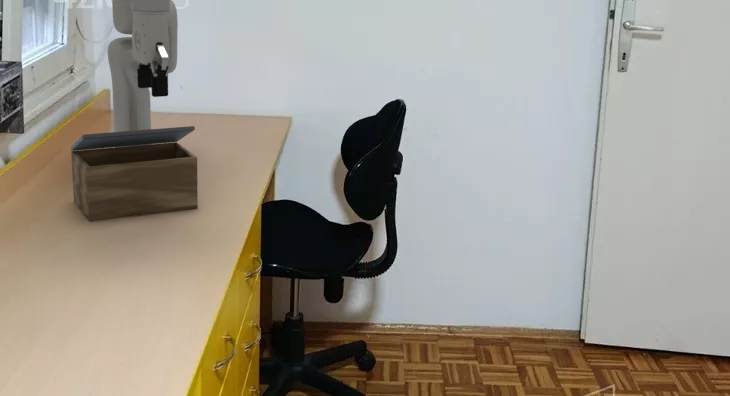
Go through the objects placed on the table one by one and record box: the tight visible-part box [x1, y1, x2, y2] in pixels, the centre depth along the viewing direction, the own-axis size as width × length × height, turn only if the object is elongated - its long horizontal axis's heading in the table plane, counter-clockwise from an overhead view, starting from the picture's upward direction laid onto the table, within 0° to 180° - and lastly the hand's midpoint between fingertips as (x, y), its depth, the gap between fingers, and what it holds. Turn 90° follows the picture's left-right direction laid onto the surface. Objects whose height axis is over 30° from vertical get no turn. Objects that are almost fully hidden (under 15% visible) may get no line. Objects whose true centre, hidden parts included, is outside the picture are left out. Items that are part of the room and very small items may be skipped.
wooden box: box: [70, 141, 199, 223], centre depth 197 cm, size 14×24×12 cm, turn 120°
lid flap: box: [70, 125, 196, 152], centre depth 195 cm, size 14×24×1 cm, turn 119°
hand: (152, 91), depth 179 cm, fingers open, 8 cm apart
